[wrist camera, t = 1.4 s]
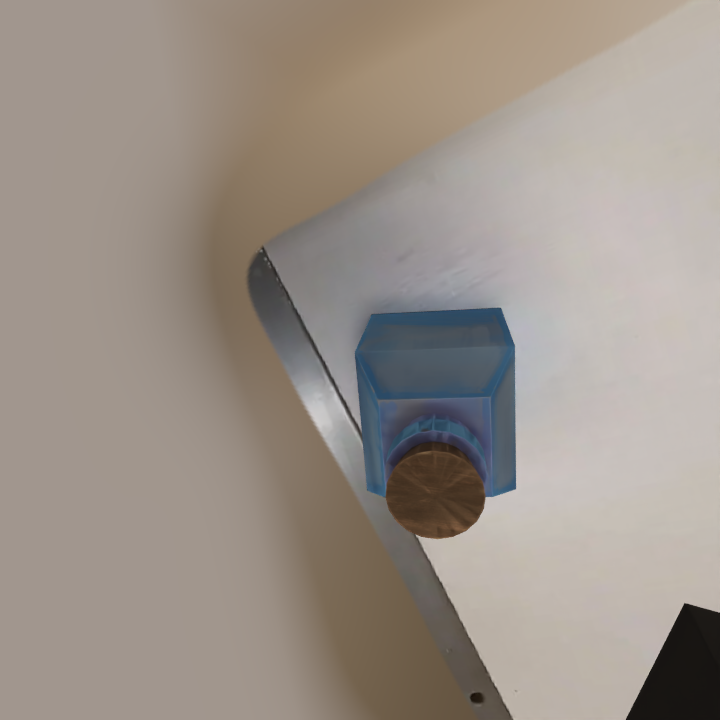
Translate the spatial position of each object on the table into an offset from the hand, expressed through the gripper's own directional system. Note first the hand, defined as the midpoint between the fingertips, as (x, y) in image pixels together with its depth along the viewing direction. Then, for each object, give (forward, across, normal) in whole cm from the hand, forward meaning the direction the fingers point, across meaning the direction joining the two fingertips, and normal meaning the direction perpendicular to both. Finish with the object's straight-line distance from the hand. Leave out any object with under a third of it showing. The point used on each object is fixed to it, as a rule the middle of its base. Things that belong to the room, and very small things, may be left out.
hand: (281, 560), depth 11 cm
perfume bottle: (+21, +3, -3) cm, 22 cm away
